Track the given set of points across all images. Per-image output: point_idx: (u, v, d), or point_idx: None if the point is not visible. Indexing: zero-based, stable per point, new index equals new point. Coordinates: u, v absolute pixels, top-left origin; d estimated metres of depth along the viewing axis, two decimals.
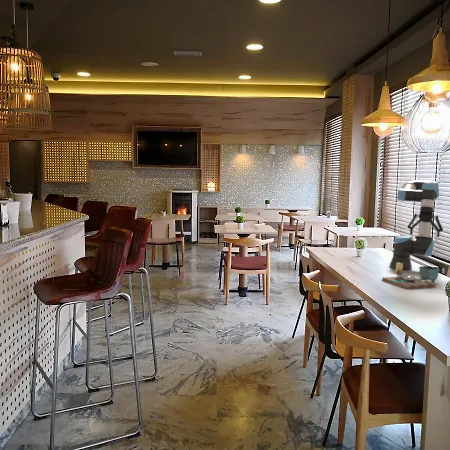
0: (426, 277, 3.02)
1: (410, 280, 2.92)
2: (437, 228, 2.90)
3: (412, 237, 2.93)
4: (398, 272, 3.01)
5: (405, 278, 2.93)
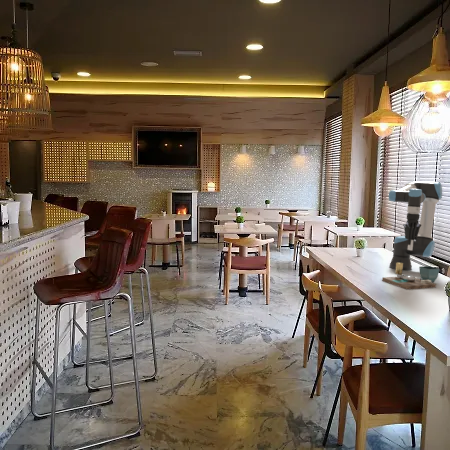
0: (426, 277, 3.02)
1: (410, 280, 2.92)
2: (414, 236, 3.02)
3: (411, 248, 3.02)
4: (398, 272, 3.01)
5: (405, 278, 2.93)
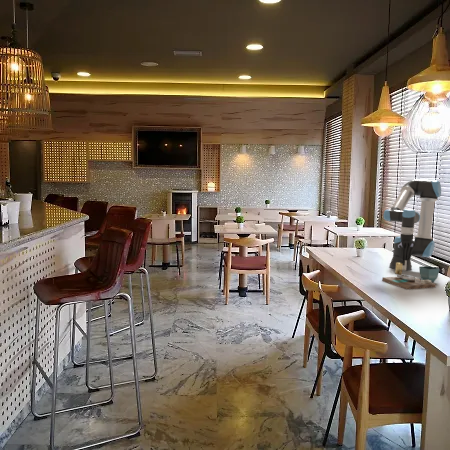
0: (426, 277, 3.02)
1: (410, 280, 2.92)
2: (408, 257, 3.03)
3: (405, 268, 3.03)
4: (398, 272, 3.01)
5: (405, 278, 2.93)
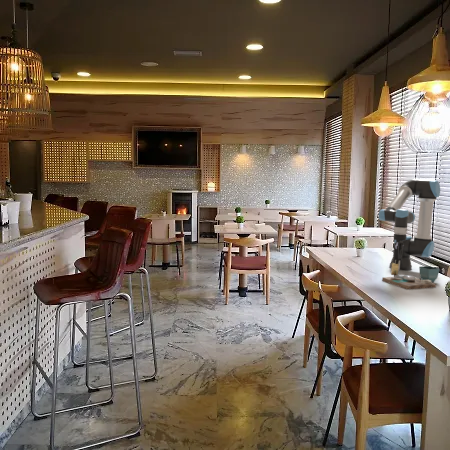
0: (426, 277, 3.02)
1: (413, 280, 2.92)
2: (400, 257, 3.02)
3: (399, 268, 3.02)
4: (395, 273, 2.98)
5: (408, 279, 2.92)
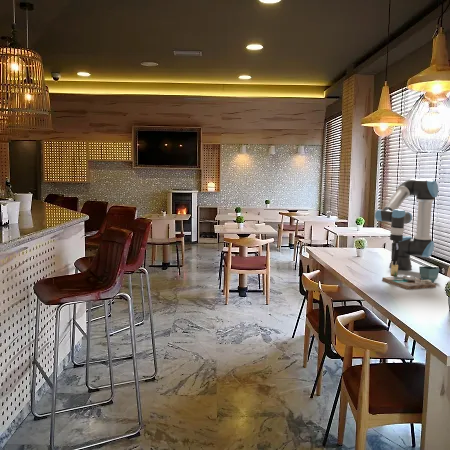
0: (426, 277, 3.02)
1: (414, 280, 2.93)
2: None
3: None
4: (396, 274, 2.95)
5: (411, 279, 2.92)
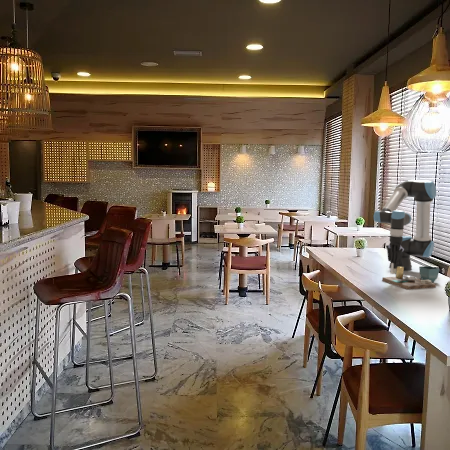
0: (426, 277, 3.02)
1: None
2: None
3: None
4: (402, 276, 2.90)
5: (414, 279, 2.92)
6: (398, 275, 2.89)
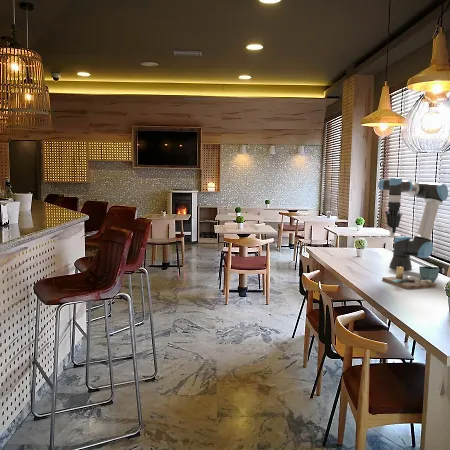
0: (426, 277, 3.02)
1: None
2: None
3: None
4: (402, 276, 2.90)
5: (414, 279, 2.92)
6: (398, 275, 2.89)
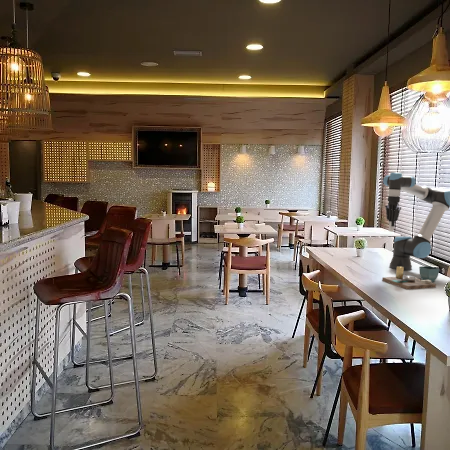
0: (426, 277, 3.02)
1: None
2: None
3: (393, 229, 3.18)
4: (402, 276, 2.90)
5: (414, 279, 2.92)
6: (398, 275, 2.89)
